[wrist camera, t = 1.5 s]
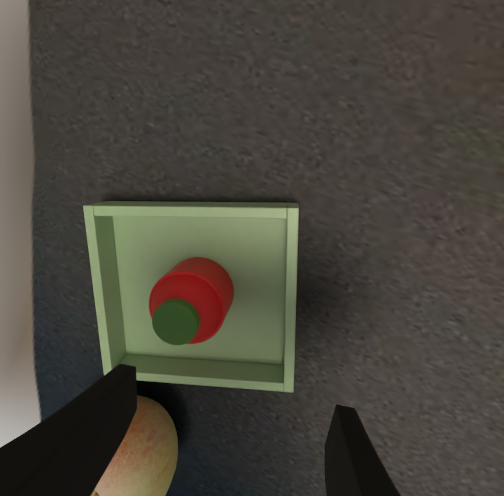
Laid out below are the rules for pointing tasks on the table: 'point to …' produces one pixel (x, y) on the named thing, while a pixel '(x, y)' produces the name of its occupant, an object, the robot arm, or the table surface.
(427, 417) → the table surface
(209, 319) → the red cylinder green cap
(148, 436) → the fruit
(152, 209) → the tray
